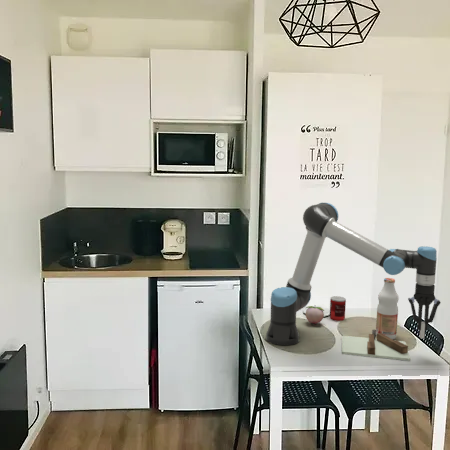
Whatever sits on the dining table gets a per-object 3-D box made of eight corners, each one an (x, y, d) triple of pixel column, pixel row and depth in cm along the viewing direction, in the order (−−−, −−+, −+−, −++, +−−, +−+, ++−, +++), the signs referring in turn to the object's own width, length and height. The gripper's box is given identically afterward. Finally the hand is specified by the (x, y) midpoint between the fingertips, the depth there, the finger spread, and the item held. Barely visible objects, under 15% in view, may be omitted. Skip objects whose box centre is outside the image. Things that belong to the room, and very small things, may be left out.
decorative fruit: (304, 326, 258) (305, 307, 256) (304, 321, 266) (305, 302, 264) (324, 327, 256) (324, 308, 255) (323, 322, 264) (324, 303, 263)
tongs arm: (401, 353, 222) (402, 347, 221) (376, 339, 238) (376, 333, 237) (407, 352, 223) (407, 346, 223) (381, 339, 239) (382, 332, 238)
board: (341, 353, 224) (342, 351, 224) (342, 337, 243) (342, 335, 243) (410, 360, 218) (410, 358, 218) (405, 343, 237) (405, 341, 237)
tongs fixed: (367, 354, 222) (368, 344, 221) (366, 337, 240) (366, 328, 240) (377, 355, 221) (378, 345, 220) (375, 338, 240) (375, 329, 239)
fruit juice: (371, 334, 247) (374, 277, 243) (385, 331, 252) (389, 275, 248) (385, 341, 239) (389, 282, 235) (400, 338, 244) (404, 280, 239)
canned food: (334, 315, 275) (335, 295, 274) (347, 318, 270) (348, 298, 268) (326, 318, 270) (327, 298, 268) (339, 322, 264) (340, 301, 263)
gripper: (409, 284, 215) (406, 339, 219) (443, 286, 212) (439, 341, 216) (407, 280, 223) (404, 333, 226) (440, 282, 220) (436, 335, 223)
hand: (421, 337), depth 221 cm, fingers closed
